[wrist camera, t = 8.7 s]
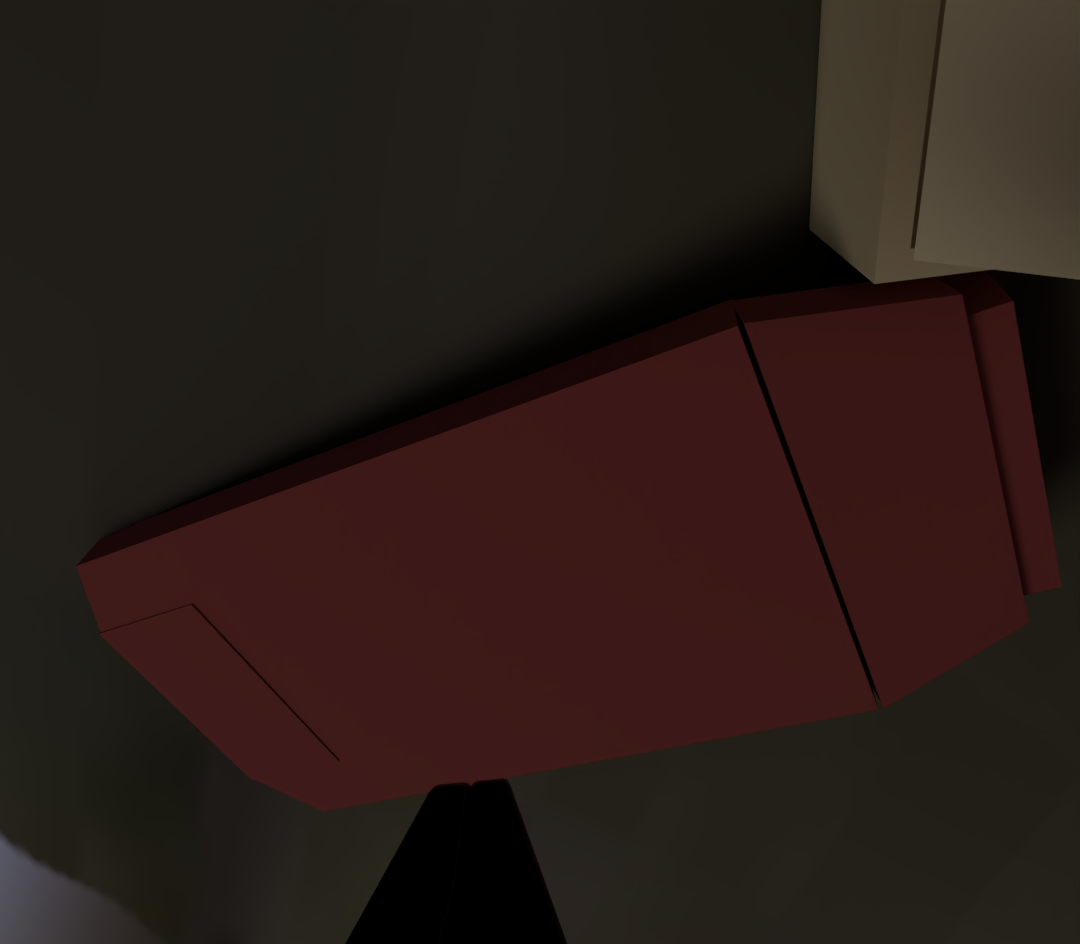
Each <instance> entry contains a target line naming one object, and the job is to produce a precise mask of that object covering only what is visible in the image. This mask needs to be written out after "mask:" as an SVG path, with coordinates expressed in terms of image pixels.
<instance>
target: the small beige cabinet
mask: <svg viewBox="0 0 1080 944" xmlns="http://www.w3.org/2000/svg"><path fill="white" fill-rule="evenodd" d="M945 5H946V0H822V7H821V25H820V43H819V61H818V79H817V98H816V116H815V134H814V152H813V170H812V188H811V207H810V225H809V229H810V230H811V231H812V232H813V233H814V234H816V235H817V236H818V237H819V238H820V239H821V240H823V241H824V242H825V243H826V244H827V245H829V246H830V247H831V248H832V249H833V250H835V251H836V252H837V253H838V254H839V255H840V256H842V257H843V258H844V259H845V260H846V261H848V262H849V263H850V264H851V265H852V266H854V267H855V268H856V269H857V270H858V271H859V272H861V273H862V274H863V275H864V276H865V277H867V278H868V279H869V280H870V281H871V282H873V283H874V284H879V283H887V282H895V281H903V280H911V279H919V278H928V277H936V276H944V275H952V274H960V273H968V272H976V271H984V270H993V269H985V268H976V267H968V266H959V265H950V264H942V263H933V262H925V261H916V260H914V252H915V244H916V236H917V228H918V220H919V212H920V204H921V196H922V188H923V180H924V172H925V164H926V156H927V148H928V140H929V132H930V124H931V116H932V108H933V100H934V93H935V85H936V77H937V69H938V61H939V53H940V45H941V37H942V29H943V21H944V13H945Z"/></svg>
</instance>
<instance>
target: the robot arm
mask: <svg viewBox="0 0 1080 944" xmlns="http://www.w3.org/2000/svg"><path fill="white" fill-rule="evenodd" d="M346 944H567V942H566V939H565V937H564V934H563V931H562V928H561V925H560V923H559V920H558V917H557V914H556V911H555V909H554V906H553V903H552V900H551V897H550V895H549V892H548V889H547V886H546V883H545V881H544V878H543V875H542V872H541V869H540V867H539V864H538V861H537V858H536V855H535V853H534V850H533V847H532V844H531V841H530V839H529V836H528V833H527V830H526V827H525V825H524V822H523V819H522V816H521V813H520V811H519V808H518V805H517V802H516V800H515V797H514V794H513V791H512V788H511V786H510V784H509V782H508V780H507V779H504V778H500V779H489V780H479V781H476V782H474V783H473V784H472V786H470V784H469V783H467V782H458V783H448V784H439V785H436V786H435V787H433V788H432V789H431V790H430V792H429V793H428V795H427V797H426V799H425V800H424V802H423V804H422V806H421V808H420V810H419V811H418V813H417V815H416V817H415V819H414V820H413V822H412V824H411V826H410V828H409V829H408V831H407V833H406V835H405V837H404V839H403V840H402V842H401V844H400V846H399V848H398V849H397V851H396V853H395V855H394V857H393V858H392V860H391V862H390V864H389V866H388V868H387V869H386V871H385V873H384V875H383V877H382V878H381V880H380V882H379V884H378V886H377V888H376V889H375V891H374V893H373V895H372V897H371V898H370V900H369V902H368V904H367V906H366V907H365V909H364V911H363V913H362V915H361V917H360V918H359V920H358V922H357V924H356V926H355V927H354V929H353V931H352V933H351V935H350V936H349V938H348V940H347V942H346Z"/></svg>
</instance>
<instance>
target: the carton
mask: <svg viewBox="0 0 1080 944" xmlns="http://www.w3.org/2000/svg"><path fill="white" fill-rule="evenodd" d="M76 567H77V570H78V572H79V575H80V578H81V580H82V583H83V586H84V589H85V591H86V594H87V597H88V599H89V602H90V605H91V607H92V610H93V613H94V616H95V618H96V621H97V624H98V626H99V629H100V633H99V635H100V636H102V637H103V638H104V639H105V640H106V641H107V642H108V643H109V644H110V645H111V646H112V647H113V648H114V649H115V650H116V651H117V652H118V653H119V654H120V655H121V656H122V657H124V658H125V659H126V660H127V661H128V662H129V663H130V664H131V665H132V666H133V667H134V668H135V669H136V670H137V671H138V672H139V673H140V674H141V675H142V676H143V677H144V678H146V679H147V680H148V681H149V682H150V683H151V684H152V685H153V686H154V687H155V688H156V689H157V690H158V691H159V692H160V693H161V694H162V695H163V696H164V697H165V698H166V699H168V700H169V701H170V702H171V703H172V704H173V705H174V706H175V707H176V708H177V709H178V710H179V711H180V712H181V713H182V714H183V715H184V716H185V717H186V718H187V719H189V720H190V721H191V722H192V723H193V724H194V725H195V726H196V727H197V728H198V729H199V730H200V731H201V732H202V733H203V734H204V735H205V736H206V737H207V738H208V739H209V740H211V741H212V742H213V743H214V744H215V745H216V746H217V747H218V748H219V749H220V750H221V751H222V752H223V753H224V754H225V755H226V756H227V757H228V758H229V759H230V760H231V761H233V762H234V763H235V764H236V765H237V766H238V767H239V768H240V769H241V770H242V771H243V772H244V773H245V774H246V775H247V776H248V777H249V778H250V779H251V780H257V781H259V782H261V783H263V784H265V785H267V786H269V787H272V788H274V789H276V790H278V791H280V792H282V793H284V794H287V795H289V796H291V797H293V798H295V799H297V800H300V801H302V802H304V803H306V804H308V805H310V806H312V807H315V808H317V809H319V810H321V811H323V812H324V811H329V810H335V809H340V808H346V807H351V806H357V805H362V804H367V803H373V802H378V801H384V800H389V799H395V798H400V797H405V796H411V795H416V794H422V793H427V792H430V790H431V789H432V788H433V787H435V786H436V785H439V784H448V783H458V782H467V783H469V784H470V785H471V784H473V783H474V782H476V781H479V780H489V779H500V778H509V777H514V776H520V775H525V774H531V773H536V772H541V771H547V770H552V769H558V768H563V767H569V766H574V765H579V764H585V763H590V762H596V761H601V760H607V759H612V758H617V757H623V756H628V755H634V754H639V753H645V752H650V751H656V750H661V749H666V748H672V747H677V746H683V745H688V744H694V743H699V742H704V741H710V740H715V739H721V738H726V737H732V736H737V735H743V734H748V733H753V732H759V731H764V730H770V729H775V728H781V727H786V726H791V725H797V724H802V723H808V722H813V721H819V720H824V719H830V718H835V717H840V716H846V715H851V714H857V713H862V712H868V711H873V710H878V707H877V703H876V699H875V696H874V692H873V689H874V691H875V693H876V694H877V696H878V698H879V700H880V702H881V704H882V706H883V708H886V707H887V706H889V705H891V704H892V703H894V702H896V701H897V700H899V699H901V698H903V697H904V696H906V695H908V694H909V693H911V692H913V691H914V690H916V689H918V688H920V687H921V686H923V685H925V684H926V683H928V682H930V681H931V680H933V679H935V678H936V677H938V676H940V675H942V674H943V673H945V672H947V671H948V670H950V669H952V668H953V667H955V666H957V665H958V664H960V663H962V662H964V661H965V660H967V659H969V658H970V657H972V656H974V655H975V654H977V653H979V652H981V651H982V650H984V649H986V648H987V647H989V646H991V645H992V644H994V643H996V642H997V641H999V640H1001V639H1003V638H1004V637H1006V636H1008V635H1009V634H1011V633H1013V632H1014V631H1016V630H1018V629H1019V628H1021V627H1023V626H1025V625H1026V624H1028V623H1029V620H1028V615H1027V610H1026V605H1025V600H1024V595H1027V594H1032V593H1037V592H1041V591H1046V590H1050V589H1055V588H1060V587H1062V586H1061V580H1060V574H1059V568H1058V562H1057V556H1056V550H1055V545H1054V539H1053V533H1052V527H1051V521H1050V515H1049V509H1048V503H1047V497H1046V491H1045V485H1044V479H1043V473H1042V467H1041V462H1040V456H1039V450H1038V444H1037V438H1036V432H1035V426H1034V420H1033V414H1032V408H1031V402H1030V396H1029V390H1028V384H1027V379H1026V373H1025V367H1024V361H1023V355H1022V349H1021V343H1020V337H1019V331H1018V325H1017V319H1016V313H1015V307H1014V301H1013V300H1012V299H1011V297H1010V296H1009V295H1008V294H1007V293H1006V292H1005V291H1004V290H1003V289H1002V288H1001V287H1000V285H999V284H998V283H997V282H996V281H995V280H994V279H993V278H992V277H991V276H990V274H989V273H988V272H987V271H986V270H984V271H976V272H968V273H960V274H952V275H944V276H936V277H928V278H919V279H911V280H903V281H895V282H887V283H879V284H874V283H873V282H865V283H858V284H850V285H843V286H835V287H828V288H820V289H813V290H805V291H798V292H791V293H783V294H776V295H768V296H761V297H753V298H746V299H738V300H732V299H730V300H728V301H725V302H722V303H720V304H717V305H715V306H712V307H709V308H707V309H704V310H701V311H699V312H696V313H693V314H691V315H688V316H685V317H683V318H680V319H677V320H675V321H672V322H669V323H667V324H664V325H661V326H659V327H656V328H653V329H651V330H648V331H645V332H643V333H640V334H637V335H635V336H632V337H629V338H627V339H624V340H621V341H619V342H616V343H613V344H611V345H608V346H605V347H603V348H600V349H598V350H595V351H592V352H590V353H587V354H584V355H582V356H579V357H576V358H574V359H571V360H568V361H566V362H563V363H560V364H558V365H555V366H552V367H550V368H547V369H544V370H542V371H539V372H536V373H534V374H531V375H528V376H526V377H523V378H520V379H518V380H515V381H512V382H510V383H507V384H504V385H502V386H499V387H496V388H494V389H491V390H489V391H486V392H483V393H481V394H478V395H475V396H473V397H470V398H467V399H465V400H462V401H459V402H457V403H454V404H451V405H449V406H446V407H443V408H441V409H438V410H435V411H433V412H430V413H427V414H425V415H422V416H419V417H417V418H414V419H411V420H409V421H406V422H403V423H401V424H398V425H395V426H393V427H390V428H387V429H385V430H382V431H379V432H377V433H374V434H372V435H369V436H366V437H364V438H361V439H358V440H356V441H353V442H350V443H348V444H345V445H342V446H340V447H337V448H334V449H332V450H329V451H326V452H324V453H321V454H318V455H316V456H313V457H310V458H308V459H305V460H302V461H300V462H297V463H294V464H292V465H289V466H286V467H284V468H281V469H278V470H276V471H273V472H270V473H268V474H265V475H262V476H260V477H257V478H254V479H252V480H249V481H247V482H244V483H241V484H239V485H236V486H233V487H231V488H228V489H225V490H223V491H220V492H217V493H215V494H212V495H209V496H207V497H204V498H201V499H199V500H196V501H193V502H191V503H188V504H185V505H183V506H180V507H177V508H175V509H172V510H169V511H167V512H164V513H161V514H159V515H156V516H153V517H151V518H148V519H146V520H143V521H141V522H139V523H136V524H134V525H132V526H130V527H128V528H125V529H123V530H121V531H119V532H117V533H115V534H112V535H110V536H108V537H106V538H104V539H101V540H99V541H98V542H97V543H96V544H95V545H94V547H93V548H92V549H91V550H90V551H89V552H88V553H87V554H86V556H85V557H84V558H83V559H82V560H81V561H80V562H79V564H78V565H77V566H76ZM872 687H873V688H872Z"/></svg>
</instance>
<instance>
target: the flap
mask: <svg viewBox="0 0 1080 944" xmlns="http://www.w3.org/2000/svg"><path fill="white" fill-rule="evenodd" d="M914 260H916V261H925V262H933V263H942V264H950V265H959V266H968V267H976V268H985V269H993V270H1002V271H1010V272H1019V273H1027V274H1036V275H1044V276H1053V277H1062V278H1070V279H1079V280H1080V0H946V5H945V13H944V21H943V29H942V37H941V45H940V53H939V61H938V69H937V77H936V85H935V93H934V100H933V108H932V116H931V124H930V132H929V140H928V148H927V156H926V164H925V172H924V180H923V188H922V196H921V204H920V212H919V220H918V228H917V236H916V244H915V252H914Z"/></svg>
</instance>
